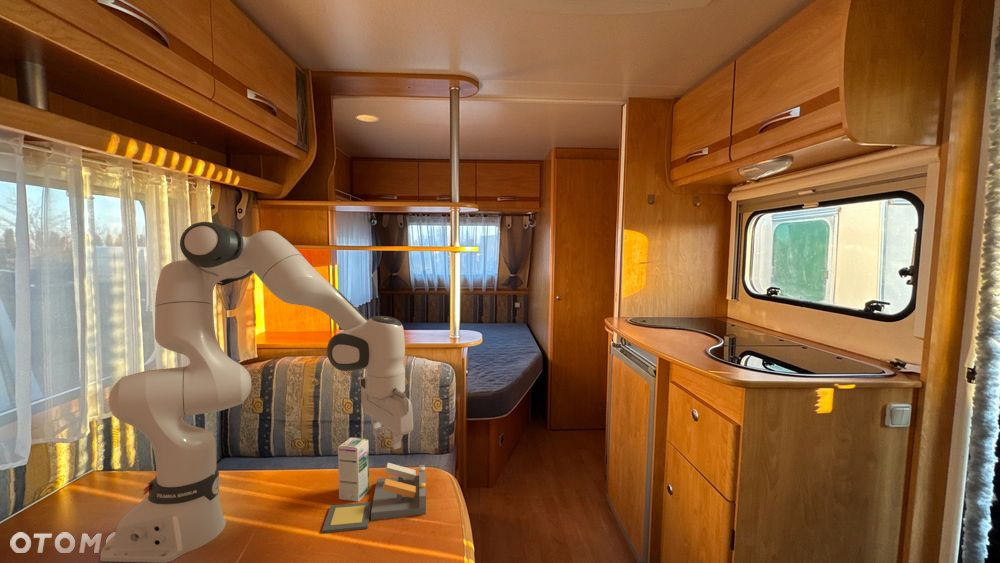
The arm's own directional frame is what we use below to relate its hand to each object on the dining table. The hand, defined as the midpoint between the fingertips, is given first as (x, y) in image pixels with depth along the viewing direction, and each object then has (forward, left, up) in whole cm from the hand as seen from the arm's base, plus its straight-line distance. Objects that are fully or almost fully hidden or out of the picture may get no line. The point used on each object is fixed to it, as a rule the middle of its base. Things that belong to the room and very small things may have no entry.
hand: (386, 441), depth 105 cm
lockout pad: (-9, +1, -19) cm, 21 cm away
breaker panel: (+3, +7, -19) cm, 21 cm away
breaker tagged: (+3, +4, -14) cm, 15 cm away
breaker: (+3, +12, -14) cm, 19 cm away
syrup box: (-9, +11, -19) cm, 24 cm away
